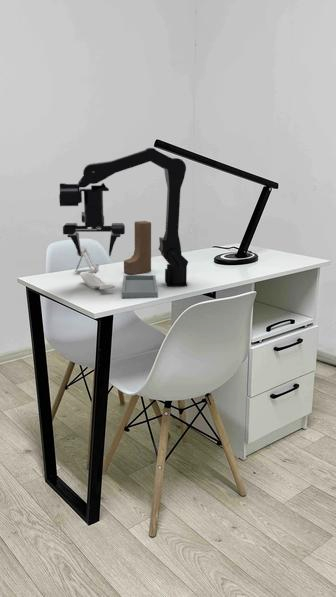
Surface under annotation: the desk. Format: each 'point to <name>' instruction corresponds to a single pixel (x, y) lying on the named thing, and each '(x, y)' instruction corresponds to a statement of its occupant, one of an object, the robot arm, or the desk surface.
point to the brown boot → (140, 250)
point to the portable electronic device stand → (95, 267)
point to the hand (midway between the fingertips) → (95, 256)
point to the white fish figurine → (94, 281)
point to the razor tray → (139, 286)
